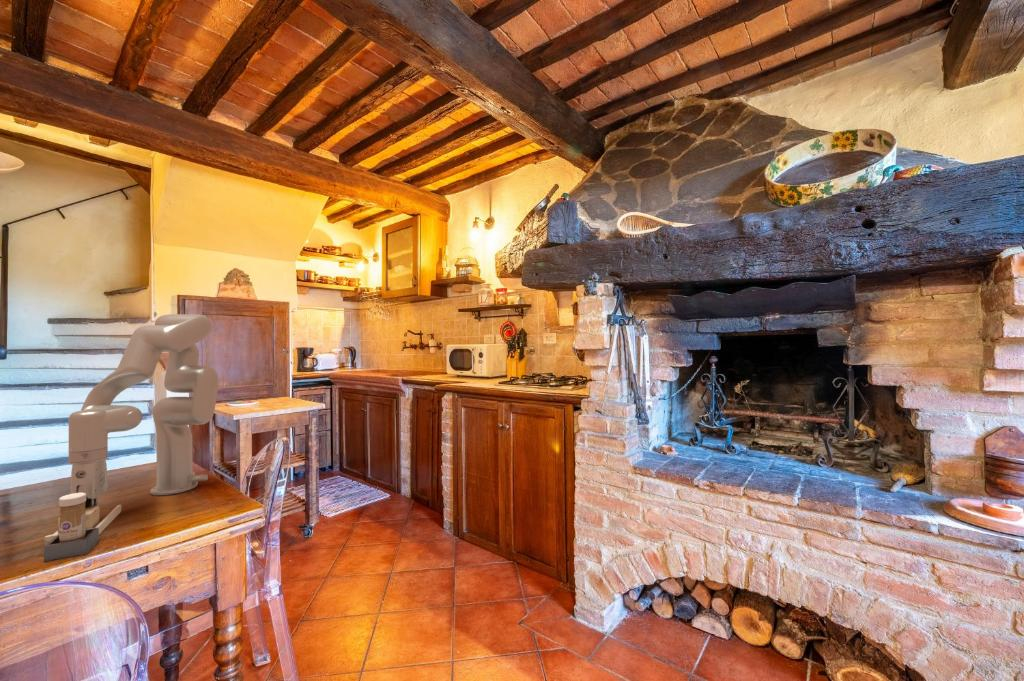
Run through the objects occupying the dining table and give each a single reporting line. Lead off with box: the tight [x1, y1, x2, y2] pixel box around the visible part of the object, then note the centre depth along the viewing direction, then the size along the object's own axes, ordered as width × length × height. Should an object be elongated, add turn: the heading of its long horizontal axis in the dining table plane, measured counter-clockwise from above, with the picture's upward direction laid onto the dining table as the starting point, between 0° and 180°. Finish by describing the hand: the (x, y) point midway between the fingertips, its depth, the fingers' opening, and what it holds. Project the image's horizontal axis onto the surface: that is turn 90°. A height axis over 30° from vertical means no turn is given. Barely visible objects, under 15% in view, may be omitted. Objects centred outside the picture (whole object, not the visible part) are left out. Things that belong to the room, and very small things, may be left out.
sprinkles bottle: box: [58, 493, 86, 543], centre depth 101 cm, size 5×5×14 cm
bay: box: [44, 504, 122, 546], centre depth 112 cm, size 9×21×3 cm, turn 29°
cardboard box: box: [57, 505, 100, 534], centre depth 108 cm, size 6×6×6 cm
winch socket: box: [43, 527, 100, 562], centre depth 100 cm, size 7×7×4 cm
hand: (88, 522), depth 113 cm, fingers closed
